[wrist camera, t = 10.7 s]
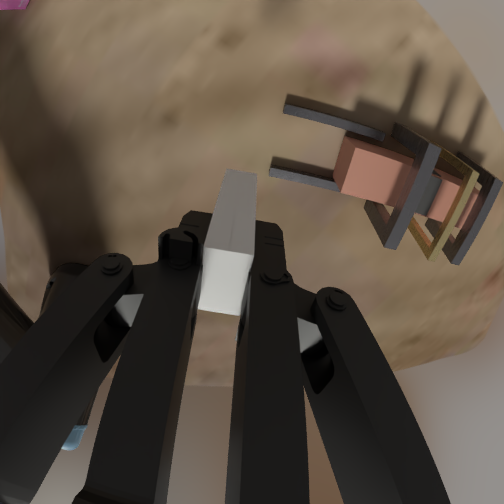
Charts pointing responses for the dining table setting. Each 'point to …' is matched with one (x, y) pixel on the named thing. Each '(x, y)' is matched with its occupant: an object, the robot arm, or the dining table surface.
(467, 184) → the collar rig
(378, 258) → the dining table surface
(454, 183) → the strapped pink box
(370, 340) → the robot arm
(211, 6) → the dining table surface
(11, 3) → the gum box
